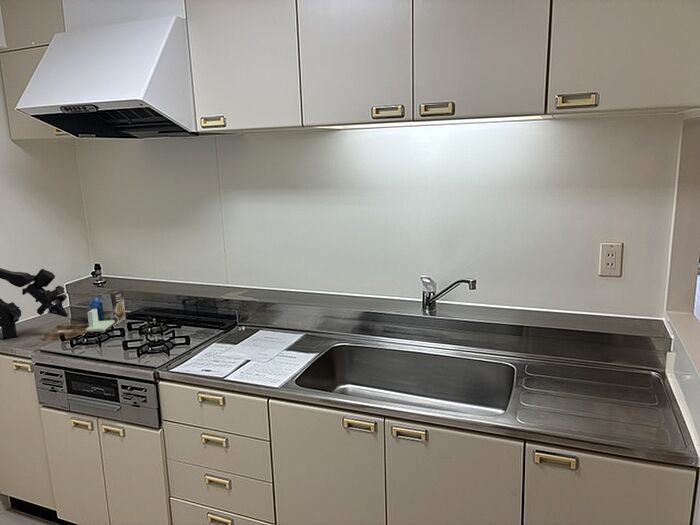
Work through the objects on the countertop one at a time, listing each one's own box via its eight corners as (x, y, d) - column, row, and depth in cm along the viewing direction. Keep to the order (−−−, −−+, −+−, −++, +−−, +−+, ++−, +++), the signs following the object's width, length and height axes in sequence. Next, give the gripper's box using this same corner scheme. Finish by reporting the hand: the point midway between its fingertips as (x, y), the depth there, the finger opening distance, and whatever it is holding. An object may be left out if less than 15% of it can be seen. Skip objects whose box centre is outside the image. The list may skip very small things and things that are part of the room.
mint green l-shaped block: (85, 331, 235) (83, 314, 233) (97, 322, 248) (96, 306, 247) (103, 330, 235) (101, 313, 234) (114, 322, 249) (113, 306, 248)
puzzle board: (43, 340, 233) (43, 334, 232) (60, 330, 248) (59, 324, 248) (102, 337, 235) (102, 332, 234) (115, 327, 251) (114, 322, 250)
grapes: (84, 322, 262) (82, 299, 260) (93, 318, 269) (90, 296, 267) (104, 322, 260) (102, 299, 258) (113, 319, 267) (110, 296, 265)
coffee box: (115, 325, 254) (112, 294, 252) (103, 325, 255) (100, 293, 253) (126, 320, 263) (123, 290, 260) (115, 320, 264) (112, 289, 261)
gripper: (41, 285, 227) (69, 309, 230) (60, 277, 246) (86, 299, 248) (24, 303, 228) (53, 326, 231) (45, 294, 246) (71, 315, 249)
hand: (67, 316), depth 240 cm, fingers closed
